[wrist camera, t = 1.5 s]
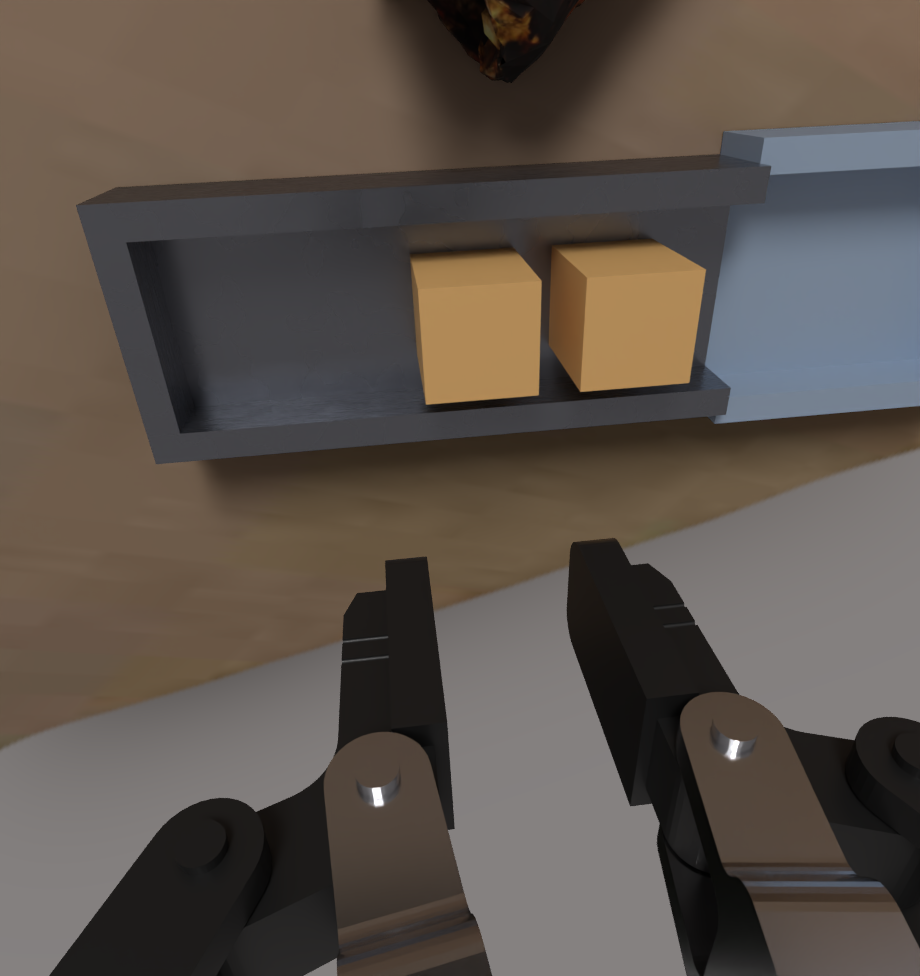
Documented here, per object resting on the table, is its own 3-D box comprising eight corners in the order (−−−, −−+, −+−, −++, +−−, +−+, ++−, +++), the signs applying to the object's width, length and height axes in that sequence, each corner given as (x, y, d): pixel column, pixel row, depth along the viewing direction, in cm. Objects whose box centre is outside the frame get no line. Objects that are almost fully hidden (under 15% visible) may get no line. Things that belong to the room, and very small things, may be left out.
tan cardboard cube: (513, 247, 26) (541, 280, 22) (513, 347, 28) (538, 395, 24) (409, 254, 26) (418, 289, 22) (417, 354, 28) (425, 404, 24)
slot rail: (720, 154, 27) (771, 165, 23) (687, 378, 32) (726, 414, 28) (115, 187, 25) (75, 205, 22) (180, 419, 30) (155, 464, 26)
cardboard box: (652, 238, 27) (706, 269, 22) (641, 337, 29) (689, 383, 24) (551, 245, 26) (587, 277, 22) (548, 344, 28) (580, 391, 24)
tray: (1011, 116, 27) (1083, 120, 25) (924, 374, 33) (974, 400, 30) (723, 131, 26) (764, 137, 24) (685, 394, 32) (714, 423, 29)
